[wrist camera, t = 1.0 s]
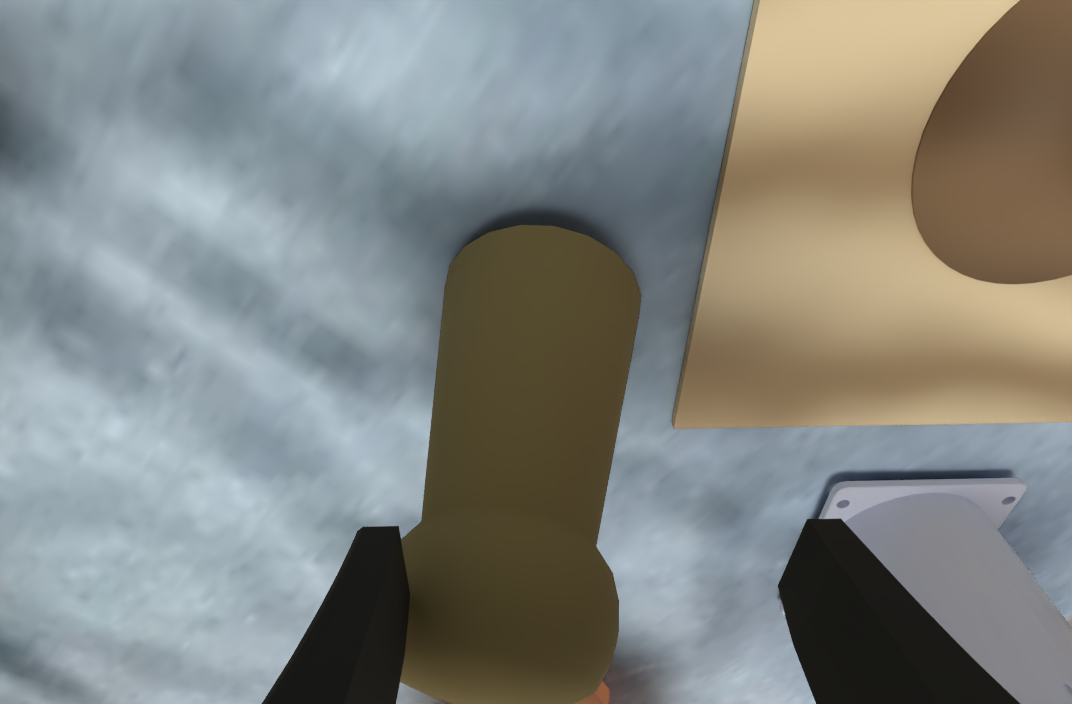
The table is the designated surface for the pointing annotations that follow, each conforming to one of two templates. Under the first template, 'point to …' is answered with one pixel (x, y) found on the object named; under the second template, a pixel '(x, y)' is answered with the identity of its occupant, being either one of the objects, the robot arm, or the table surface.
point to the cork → (521, 472)
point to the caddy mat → (890, 220)
